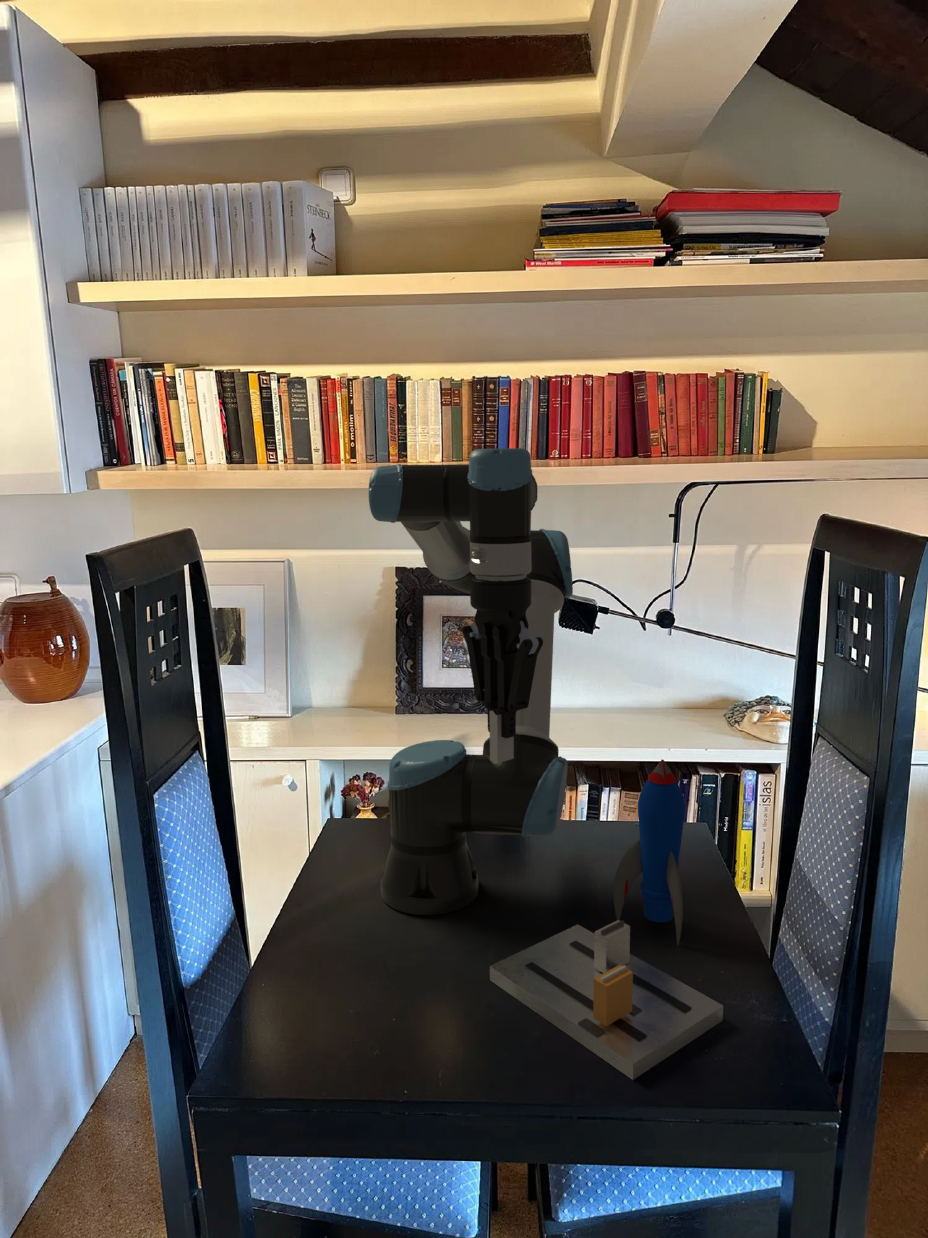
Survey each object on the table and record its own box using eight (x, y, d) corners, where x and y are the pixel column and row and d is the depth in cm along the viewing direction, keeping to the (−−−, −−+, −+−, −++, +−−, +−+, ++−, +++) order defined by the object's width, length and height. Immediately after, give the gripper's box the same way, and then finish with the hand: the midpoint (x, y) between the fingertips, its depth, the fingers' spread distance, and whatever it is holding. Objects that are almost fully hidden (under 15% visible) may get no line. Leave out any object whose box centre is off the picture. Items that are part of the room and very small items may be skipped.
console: (489, 980, 114) (489, 926, 113) (577, 937, 124) (577, 887, 123) (632, 1080, 96) (634, 1017, 94) (722, 1020, 106) (725, 962, 104)
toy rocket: (682, 949, 121) (688, 774, 116) (611, 942, 123) (614, 770, 118) (679, 909, 131) (685, 748, 127) (614, 903, 133) (617, 744, 129)
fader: (593, 1018, 102) (593, 975, 101) (619, 1003, 105) (619, 961, 104) (606, 1026, 101) (606, 983, 100) (632, 1011, 103) (633, 969, 102)
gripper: (444, 573, 112) (447, 753, 116) (512, 584, 101) (513, 780, 106) (489, 568, 116) (491, 741, 120) (560, 578, 106) (558, 766, 110)
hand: (501, 759), depth 113 cm, fingers closed
